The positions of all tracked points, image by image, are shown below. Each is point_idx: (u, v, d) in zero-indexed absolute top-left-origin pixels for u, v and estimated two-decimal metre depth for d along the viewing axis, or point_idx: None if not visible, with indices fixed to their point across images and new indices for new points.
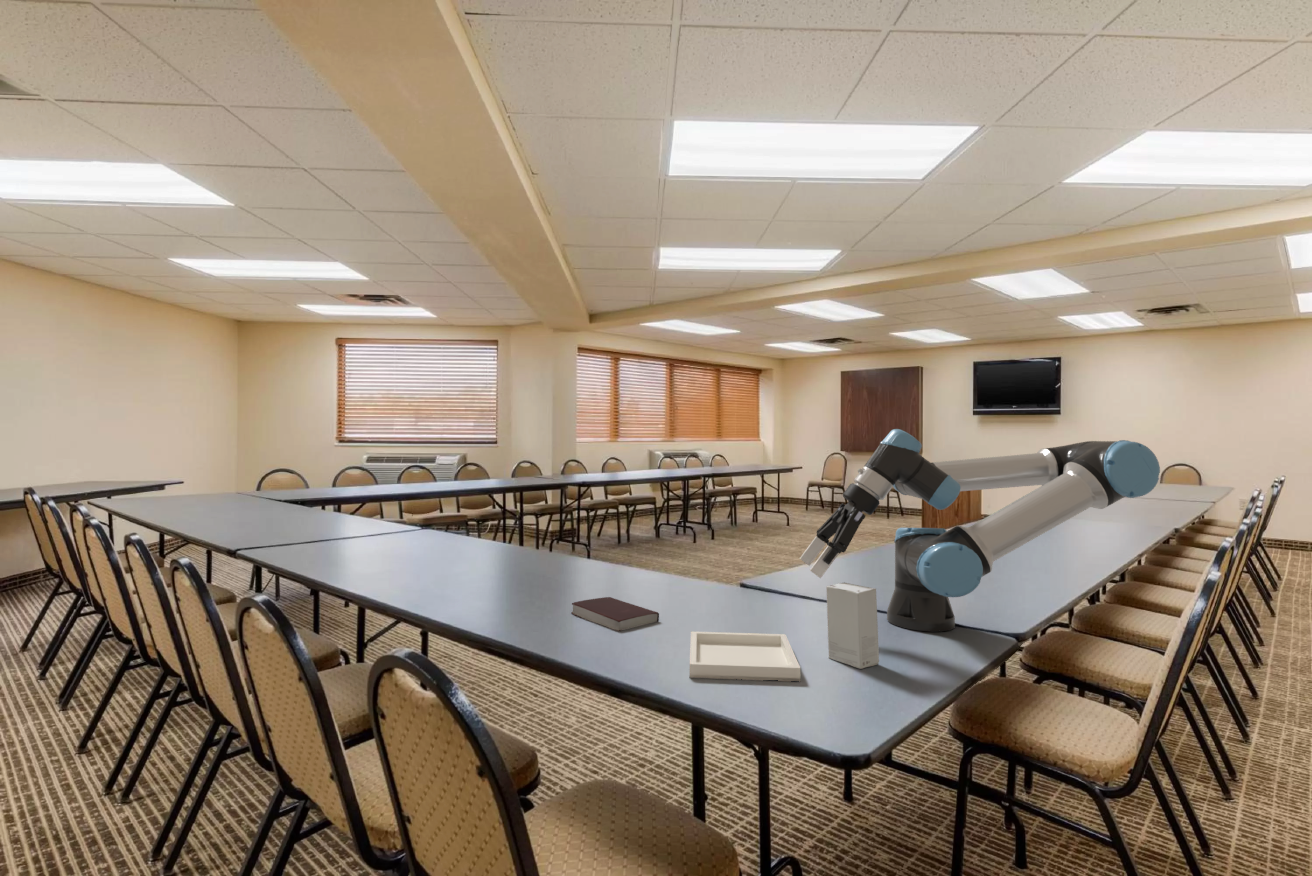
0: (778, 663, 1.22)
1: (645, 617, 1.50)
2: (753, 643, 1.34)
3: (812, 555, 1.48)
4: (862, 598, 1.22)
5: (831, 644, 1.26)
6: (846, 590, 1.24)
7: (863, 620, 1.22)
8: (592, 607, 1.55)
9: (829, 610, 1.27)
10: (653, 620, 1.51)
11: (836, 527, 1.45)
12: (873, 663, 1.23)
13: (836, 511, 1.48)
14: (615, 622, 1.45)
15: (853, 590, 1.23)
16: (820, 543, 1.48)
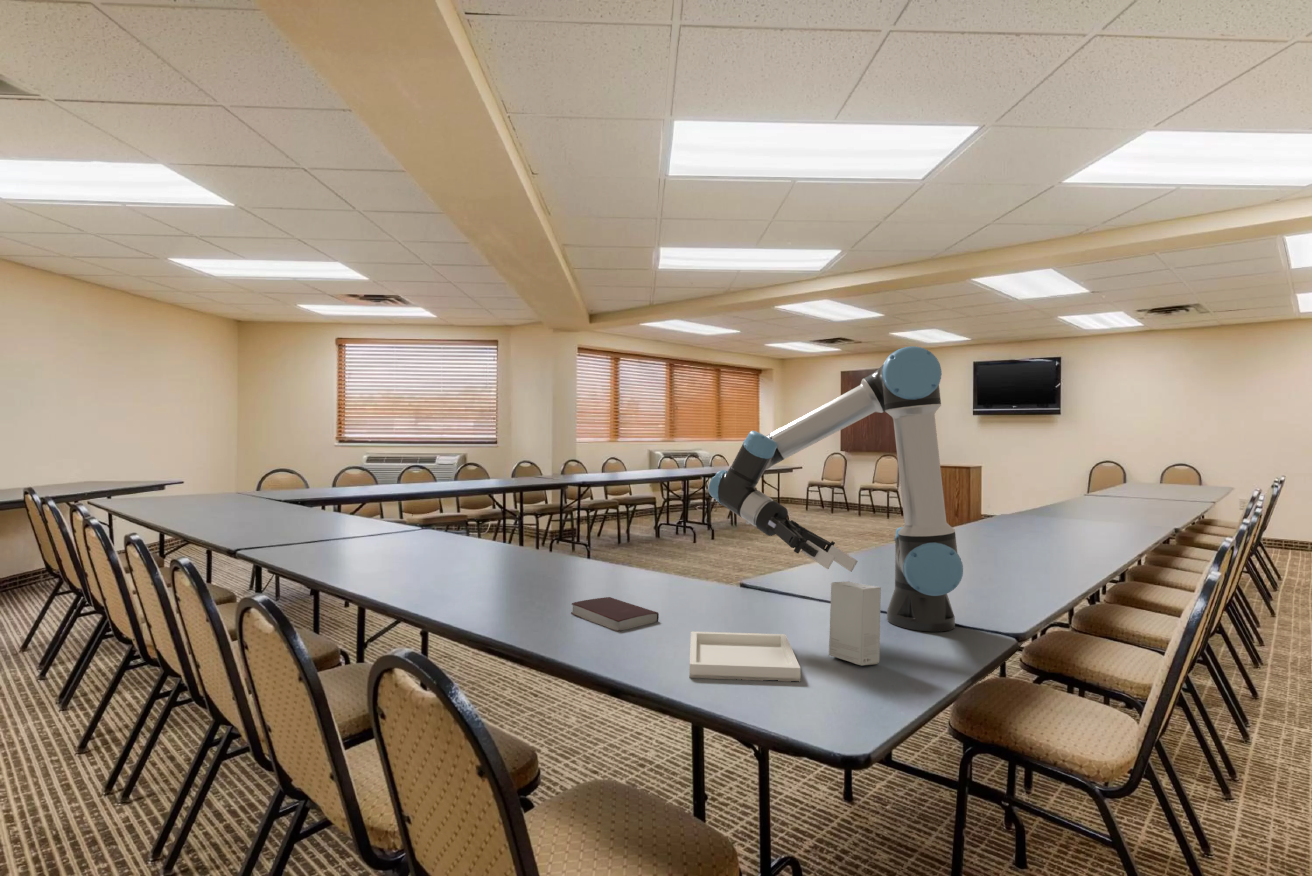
0: (778, 663, 1.22)
1: (645, 617, 1.50)
2: (753, 643, 1.34)
3: (845, 558, 1.39)
4: (867, 594, 1.22)
5: (832, 641, 1.27)
6: (851, 586, 1.24)
7: (867, 616, 1.22)
8: (592, 607, 1.54)
9: (833, 606, 1.27)
10: (653, 620, 1.51)
11: (808, 537, 1.42)
12: (873, 662, 1.23)
13: None
14: (614, 622, 1.45)
15: (858, 586, 1.24)
16: (832, 550, 1.41)
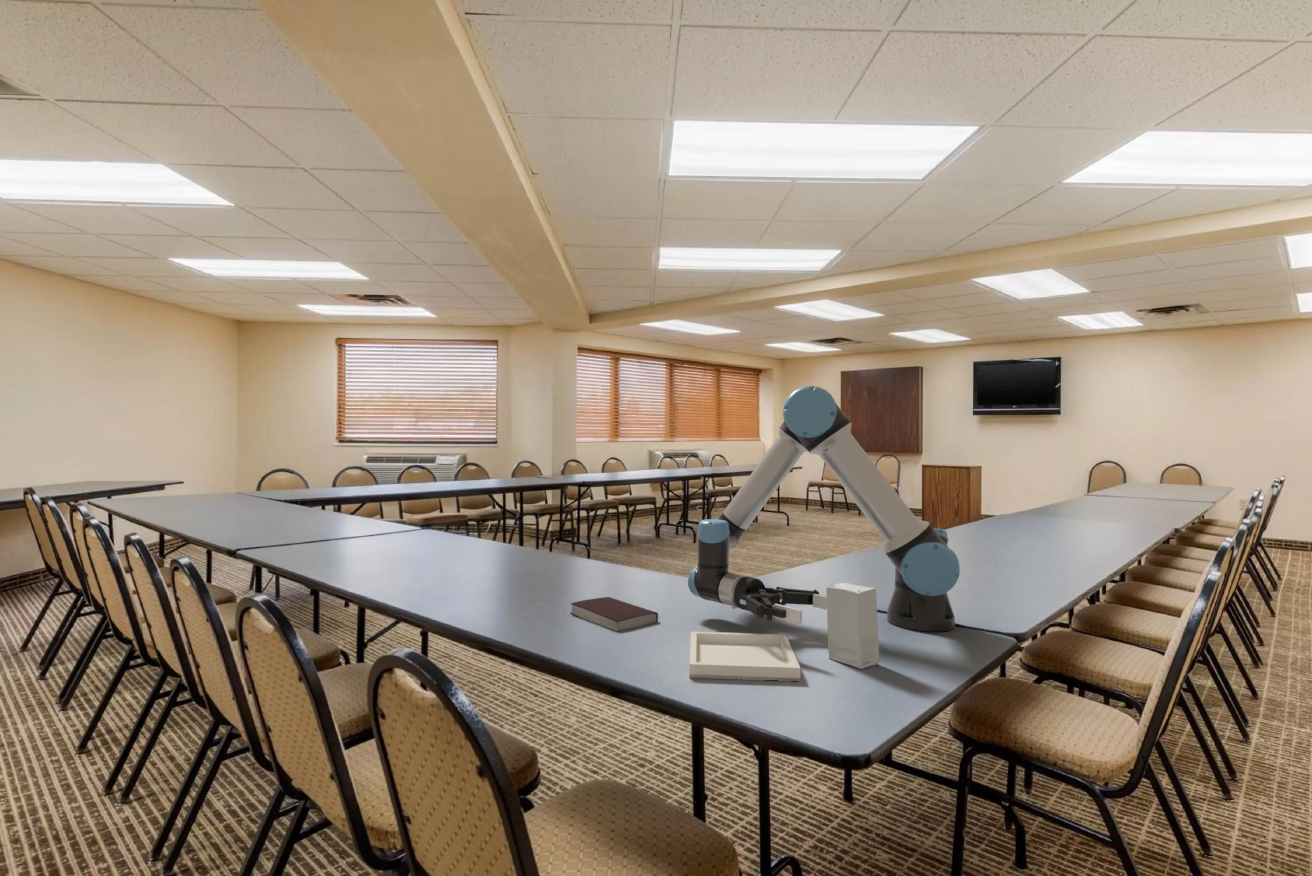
0: (778, 663, 1.22)
1: (644, 617, 1.49)
2: (753, 643, 1.34)
3: None
4: (863, 598, 1.22)
5: (831, 644, 1.26)
6: (846, 590, 1.24)
7: (863, 620, 1.22)
8: (591, 607, 1.54)
9: (829, 610, 1.27)
10: (652, 620, 1.51)
11: (789, 596, 1.42)
12: (873, 663, 1.23)
13: None
14: (614, 622, 1.45)
15: (853, 590, 1.23)
16: (815, 599, 1.39)
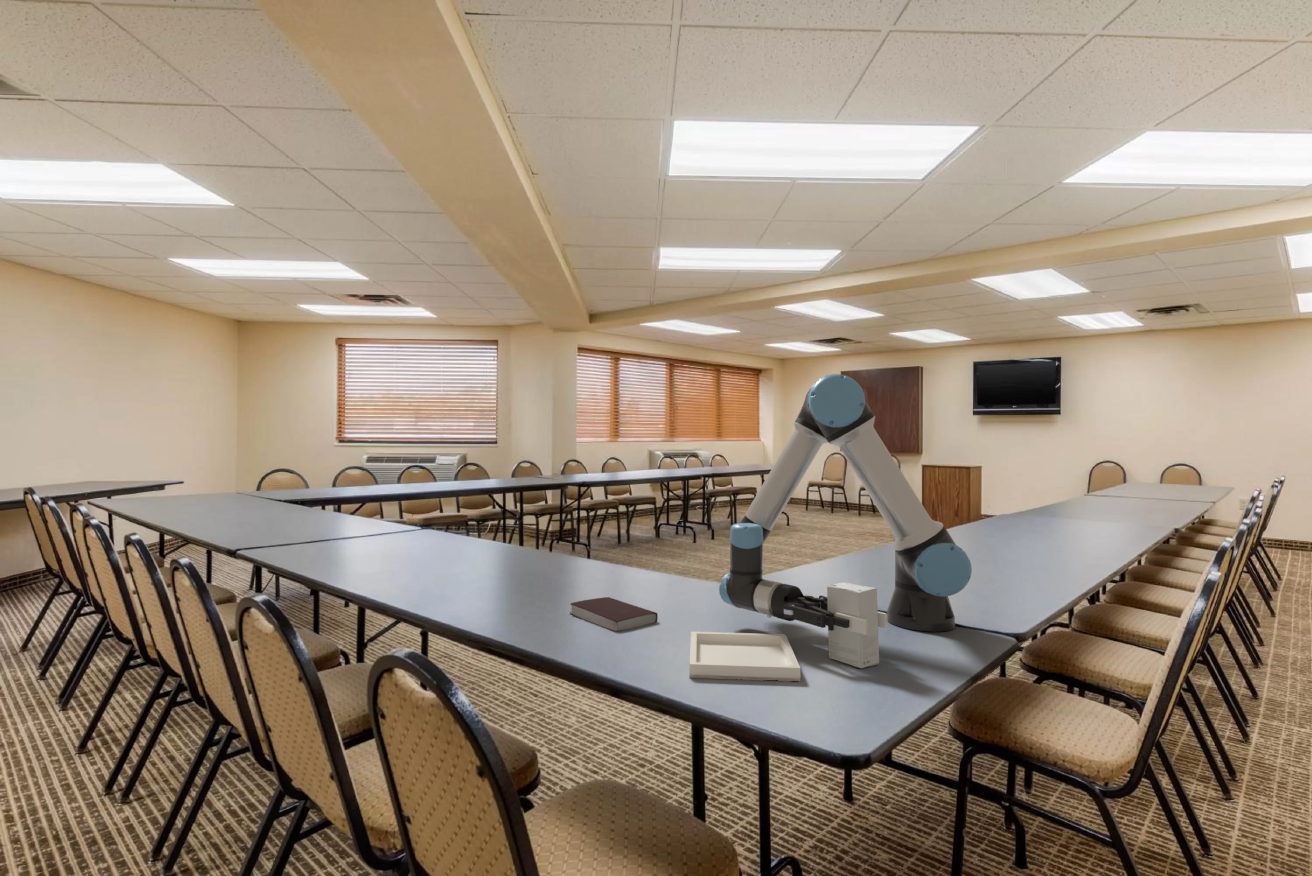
0: (778, 663, 1.22)
1: (643, 617, 1.49)
2: (753, 643, 1.34)
3: None
4: (863, 597, 1.22)
5: (831, 644, 1.26)
6: (847, 589, 1.24)
7: None
8: (590, 607, 1.54)
9: (830, 610, 1.27)
10: (651, 620, 1.51)
11: None
12: (873, 663, 1.23)
13: None
14: (613, 622, 1.45)
15: (854, 589, 1.23)
16: None
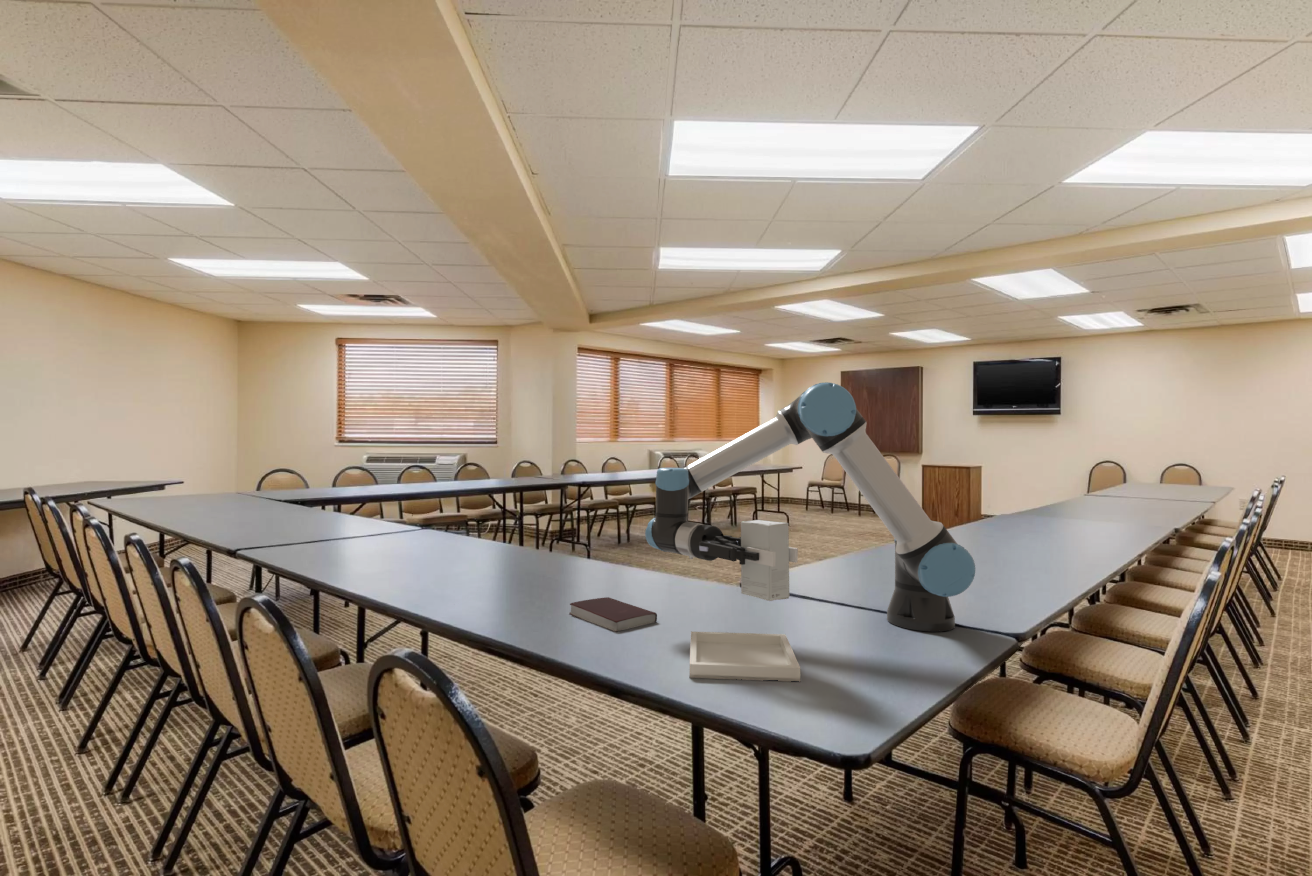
0: (778, 663, 1.22)
1: (643, 618, 1.49)
2: (753, 643, 1.34)
3: None
4: (773, 530, 1.22)
5: (743, 579, 1.26)
6: (758, 523, 1.24)
7: None
8: (590, 607, 1.54)
9: (743, 545, 1.27)
10: (651, 621, 1.51)
11: None
12: (783, 597, 1.23)
13: None
14: (613, 623, 1.45)
15: (765, 523, 1.23)
16: None
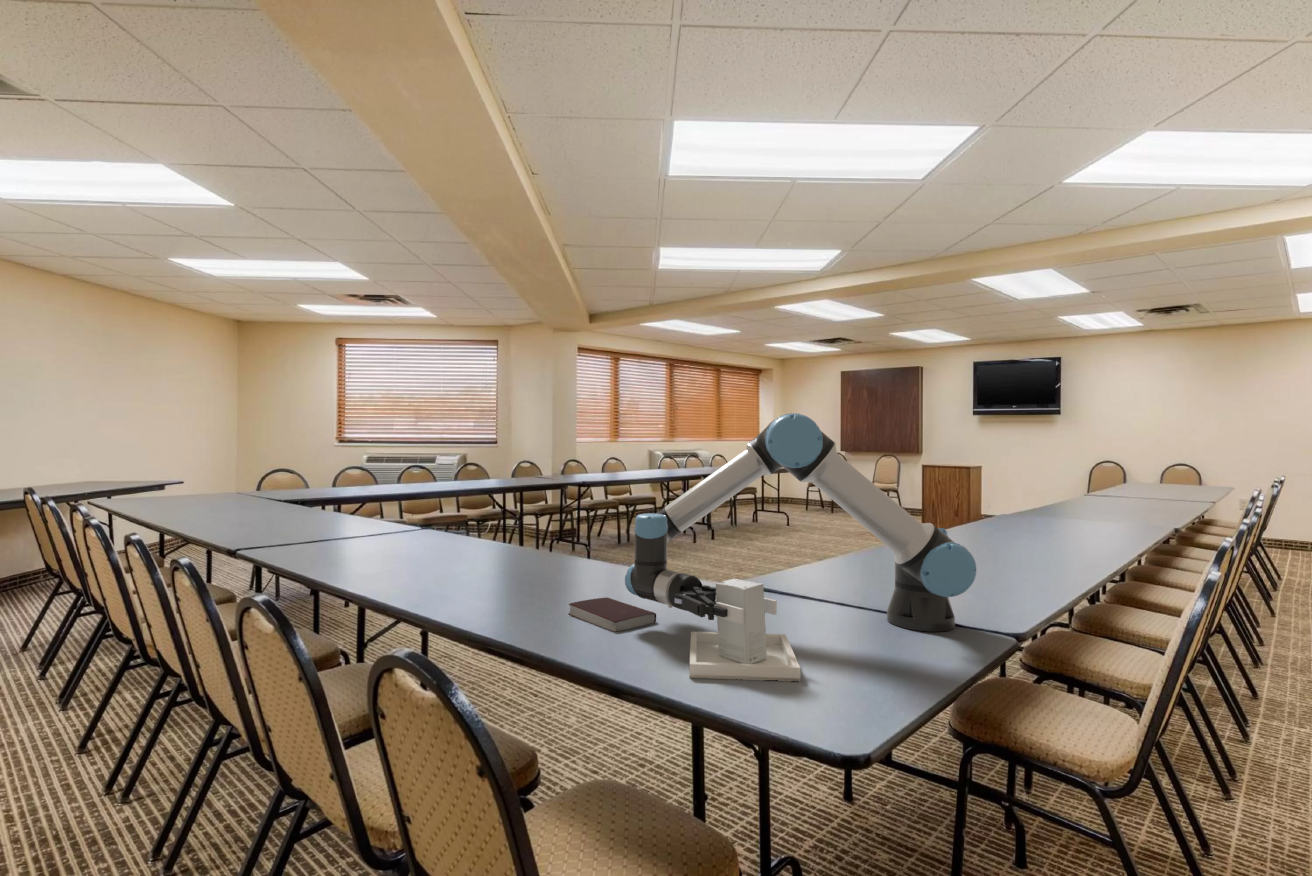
0: (778, 663, 1.22)
1: (642, 618, 1.49)
2: None
3: (764, 603, 1.27)
4: (749, 594, 1.21)
5: (720, 641, 1.26)
6: (733, 586, 1.23)
7: (750, 616, 1.21)
8: (589, 607, 1.54)
9: None
10: (650, 621, 1.51)
11: None
12: (760, 658, 1.23)
13: None
14: (612, 623, 1.45)
15: (740, 586, 1.22)
16: None
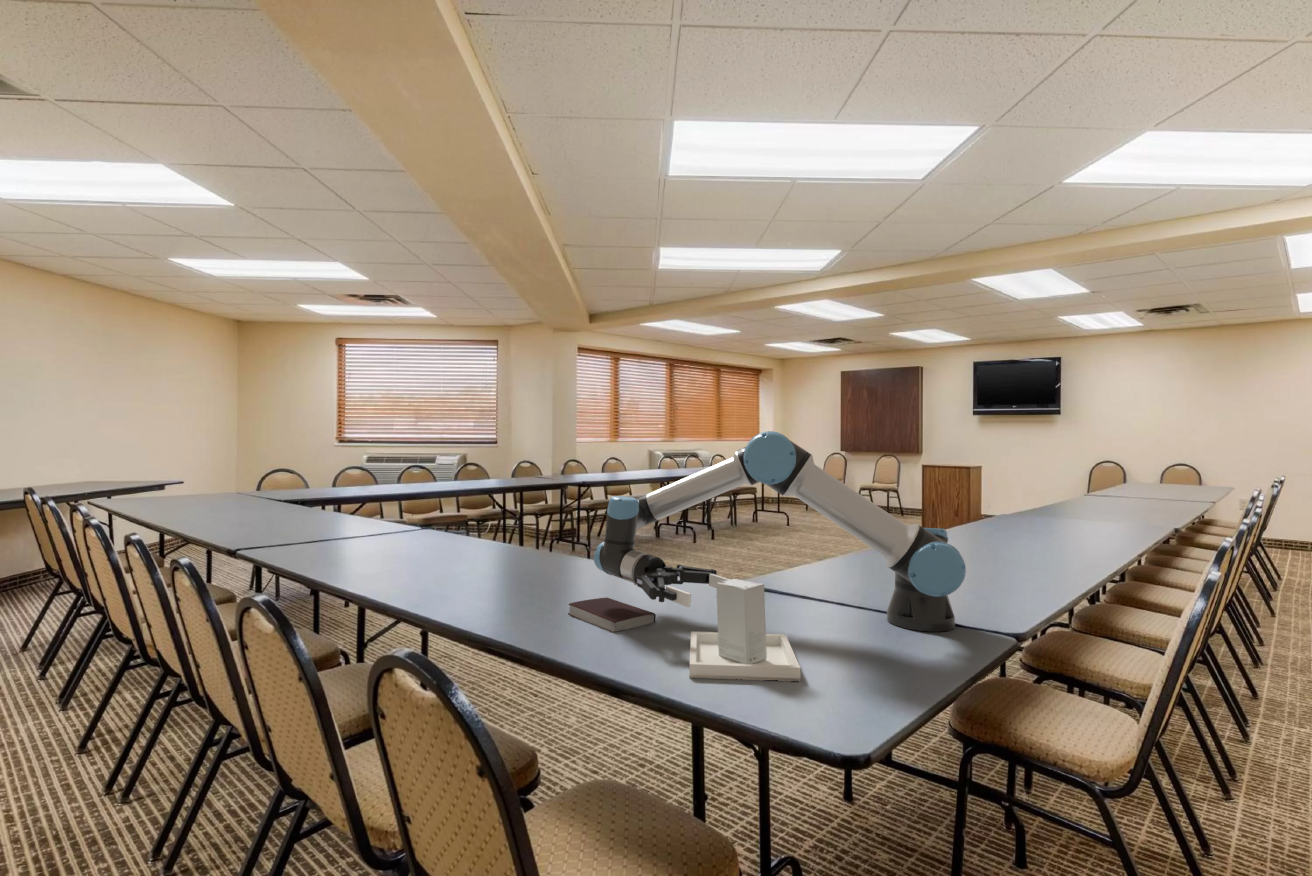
0: (778, 663, 1.22)
1: (641, 618, 1.49)
2: None
3: None
4: (749, 594, 1.21)
5: (720, 641, 1.26)
6: (734, 586, 1.23)
7: (750, 616, 1.21)
8: (589, 607, 1.54)
9: (719, 607, 1.26)
10: (650, 621, 1.50)
11: (686, 575, 1.44)
12: (760, 659, 1.23)
13: None
14: (611, 623, 1.45)
15: (741, 586, 1.22)
16: (711, 579, 1.42)
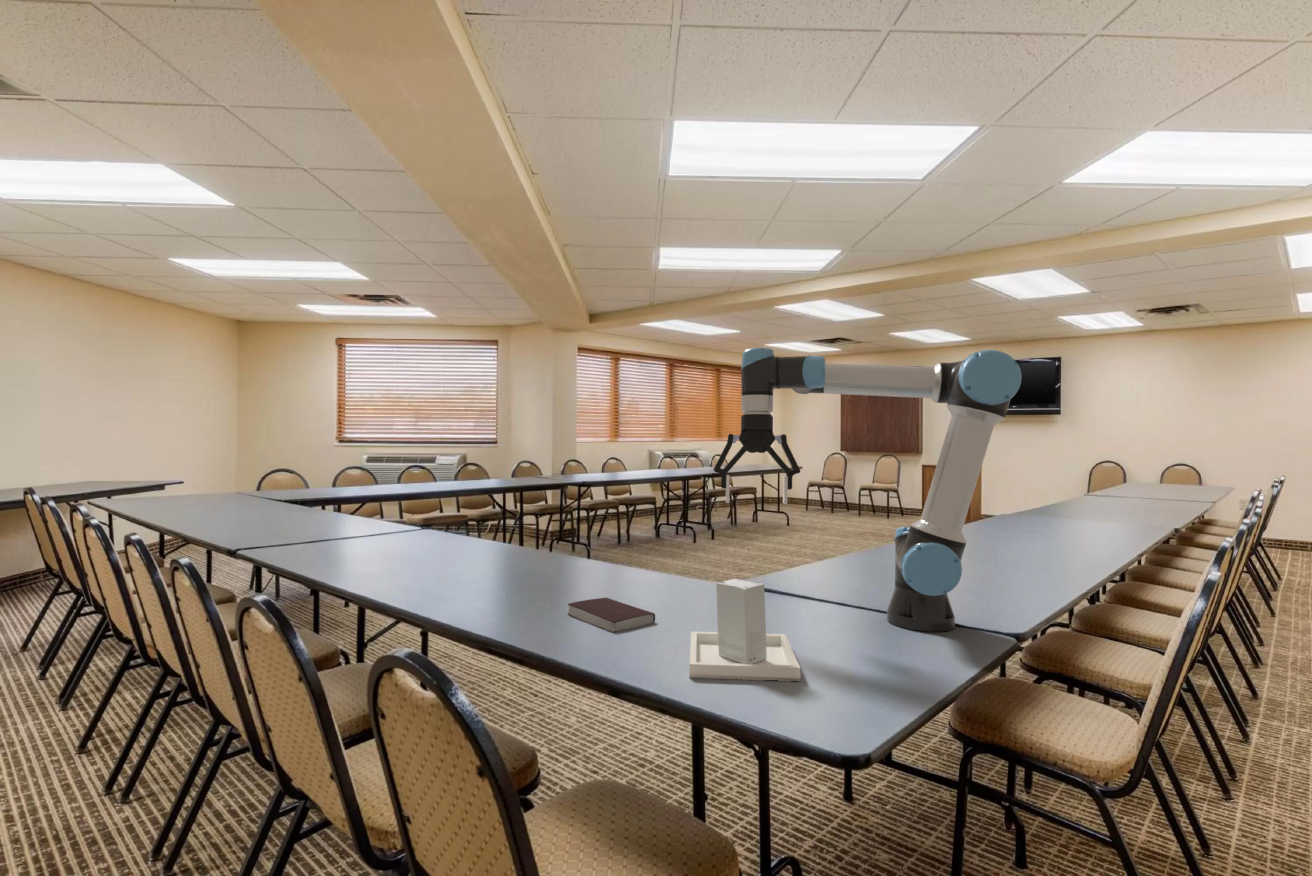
0: (778, 663, 1.22)
1: (641, 618, 1.49)
2: None
3: (783, 493, 1.50)
4: (749, 594, 1.21)
5: (720, 641, 1.26)
6: (734, 586, 1.23)
7: (750, 616, 1.21)
8: (588, 607, 1.54)
9: (719, 607, 1.26)
10: (649, 621, 1.50)
11: (772, 457, 1.50)
12: (760, 659, 1.23)
13: (782, 444, 1.52)
14: (610, 623, 1.45)
15: (741, 586, 1.22)
16: (783, 479, 1.50)
